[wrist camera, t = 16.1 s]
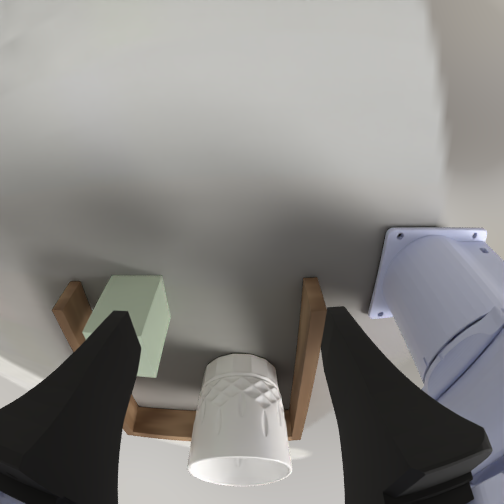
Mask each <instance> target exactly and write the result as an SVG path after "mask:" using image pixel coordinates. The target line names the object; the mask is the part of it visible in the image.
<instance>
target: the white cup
mask: <svg viewBox="0 0 504 504" xmlns="http://www.w3.org/2000/svg"><path fill="white" fill-rule="evenodd" d="M187 470H188V472H189V473H190V474H191V475H193V476H194V477H196V478H198V479H201V480H204V481H206V482H210V483H214V484H220V485H227V486H256V485H264V484H269V483H273V482H277V481H280V480H282V479H284V478H286V477H287V476H289V475H290V474H291V473H292V464H291V457H290V450H289V443H288V436H287V427H286V421H285V418H284V409H283V404H282V397H281V395H280V392H279V388H278V380H277V374H276V369H275V367H274V366H273V365H272V364H270V363H269V362H268V361H267V360H266V359H263V358H260V357H257V356H255V355H252V354H230V355H226V356H222V357H218V358H216V359H215V360H214V361H212V362H211V363H209V364H208V365H207V367H206V370H205V373H204V377H203V383H202V390H201V392H200V394H199V399H198V405H197V410H196V417H195V420H194V426H193V432H192V439H191V446H190V452H189V459H188V465H187Z"/></svg>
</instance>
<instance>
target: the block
mask: <svg viewBox="0 0 504 504" xmlns="http://www.w3.org/2000/svg"><path fill="white" fill-rule="evenodd" d="M114 310H116V311H128V312H129V315H130V318H131V321H132V324H133V326H134V329H135V332H136V335H137V337H138V340H139V343H140V345H141V348H142V349H141V355H140V362H139V368H138V373H137V376H141V377H153V378H156V376H157V372H158V368H159V363H160V359H161V355H162V351H163V347H164V342H165V338H166V334H167V330H168V326H169V323H170V319H171V315H170V311H169V307H168V302H167V297H166V293H165V288H164V283H163V279H162V276H120V275H112V276H111V278H110V280H109V281H108V283H107V285H106V287H105V289H104V291H103V292H102V294H101V296H100V298H99V300H98V302H97V304H96V306H95V308H94V310H93V311H92V313H91V315H90V317H89V319H88V321H87V323H86V325H85V327H84V329H83V331H82V333H83V335H84V337H85V339H87V338H88V337H89V336H90V335H91V334H92V333H93V332H94V331H95V330H96V328H97V327H98V326H99V325H100V324H101V323H102V322H103V321H104V320H105V319H106V318H107V317H108V316H109V315H110V314H111V313H112V312H113V311H114Z"/></svg>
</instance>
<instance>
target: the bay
mask: <svg viewBox="0 0 504 504" xmlns="http://www.w3.org/2000/svg"><path fill="white" fill-rule="evenodd" d="M52 311H53V313H54V315H55V317H56V319H57V321H58V323H59V325H60V327H61V329H62V331H63V333H64V335H65V337H66V339H67V341H68V343H69V344H70V346H71V348H72V350H73V352H75V351H76V350H77V349H78V348H79V347H80V346H81V344H82V343H83V342H84V341H85V340H86V339H85V337H84V335H83V333H82V331H83V329H84V327H85V325H86V323H87V321H88V319H89V317H90V315H91V313H92V310H91V308H90V305H89V303H88V300H87V298H86V295H85V292H84V290H83V287H82V285H81V282H79V281H70V283H69V284H68V286H67V287H66V289H65V290H64V292H63V293H62V295H61V296H60V298H59V300H58V301H57V303H56V304H55V306H54V307H53V309H52ZM326 313H327V309H326V305H325V302H324V298H323V295H322V291H321V288H320V285H319V281H318V278H317V277H314V278H303V288H302V300H301V311H300V321H299V331H298V341H297V350H296V359H295V367H294V376H293V384H292V392H291V400H290V407H289V410H284V418H285V421H286V427H287V436H288V441H291V440H300V439H301V435H302V432H303V428H304V423H305V419H306V415H307V411H308V406H309V402H310V397H311V393H312V388H313V383H314V378H315V373H316V369H317V363H318V358H319V353H320V348H321V342H322V336H323V330H324V325H325V319H326ZM195 417H196V411H188V410H171V409H158V408H147V407H139V406H138V405H137V403H136V401H135V399H134V398H133V396H132V394H131V397H130V401H129V405H128V408H127V412H126V415H125V419H124V424H123V429H124V431H125V432H126V433H127V434H128V435H133V436H141V437H149V438H158V439H169V440H181V441H191V439H192V432H193V426H194V420H195Z"/></svg>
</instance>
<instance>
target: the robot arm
mask: <svg viewBox="0 0 504 504" xmlns="http://www.w3.org/2000/svg"><path fill="white" fill-rule="evenodd" d="M399 233H402V234H401V236H399V237H397V236H398V234H399ZM473 234H474V235H473ZM472 235H473V236H472ZM486 237H487V231H486V230H485V229H484V228H434V227H409V228H390V229H389V230H388V231H387V232H386V236H385V241H384V246H383V251H382V256H381V260H380V265H379V270H378V274H377V278H376V283H375V287H374V291H373V295H372V299H371V303H370V307H369V311H368V315H369V317H370V318H371V319H378V318H388V317H394V319H395V321H396V323H397V325H398V327H399V330H400V332H401V334H402V336H403V338H404V340H405V342H406V345H407V347H408V349H409V351H410V353H411V356H412V358H413V360H414V362H415V365H416V367H417V369H418V372H419V374H420V376H421V379H422V381H423V383H424V387H423V388H422V390H421V389H420V388H419V387H417V386H416V385H415V384H414V383H412V382H411V381H410V380H409V379H408V378H407V377H406V376H405V375H404V374H403V373H402V372H400V371H399V370H398V369H397V368H396V367H395V366H394V365H393V364H392V363H391V361H390V360H389V359H388V358H387V357H386V356H385V355H384V354H383V353H382V352H381V351H380V350H379V349H378V347H377V346H376V345H375V344H374V343H373V342H372V340H371V339H370V338H369V337H368V336H367V335H366V333H365V332H364V331H363V330H362V328H361V327H360V326H359V325H358V323H357V322H356V321H355V320H354V318H353V317H352V316H351V314H350V313H349V312H348V311H347V309H346V308H345V307H344V306H342V307H327V313H326V319H325V325H324V330H323V336H322V342H321V352H322V360H323V367H324V372H325V376H326V380H327V384H328V388H329V392H330V395H331V399H332V403H333V407H334V411H335V415H336V419H337V423H338V428H339V435H340V442H341V451H342V461H343V471H344V488H345V504H504V261H503V260H502V259H501V258H500V257H499V255H498V254H497V253H495V252H494V251H493V249H491V247H490V246H488V245H487V244H486V243H485V240H486ZM379 312H381V313H379ZM141 349H142V348H141V345H140V343H139V340H138V337H137V335H136V332H135V329H134V326H133V324H132V321H131V318H130V315H129V312H128V311H116V310H114V311H113V312H112V313H111V314H110V315H109V316H108V317H107V318H106V319H105V320H104V321H103V322H102V323H101V324H100V325H99V326H98V327H97V328H96V330H95V331H94V332H93V333H92V334H91V335H90V336H89V337H88V338H87V339H86V340H85V341H84V342H83V343H82V344H81V346H80V347H79V348H78V349H77V350H76V351H75V352H74V353H73V354H72V355H71V356H70V357H69V358H68V359H66V360H65V361H64V362H63V363H62V364H61V365H60V366H59V367H58V368H57V369H56V370H55V371H54V372H53V373H51V374H50V375H49V376H48V377H47V378H45V379H44V380H43V381H42V382H41V383H39V384H38V385H37V386H35V387H34V388H32V389H31V390H30V391H28V392H27V393H26V394H24V395H23V396H21V397H20V398H18V399H16V400H15V401H13V402H12V403H10V404H8V405H6V406H5V407H3V408H1V409H0V504H118V489H117V488H118V463H119V451H120V443H121V435H122V428H123V424H124V419H125V415H126V412H127V408H128V405H129V401H130V397H131V394H132V391H133V387H134V383H135V380H136V376H137V373H138V368H139V362H140V355H141Z"/></svg>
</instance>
